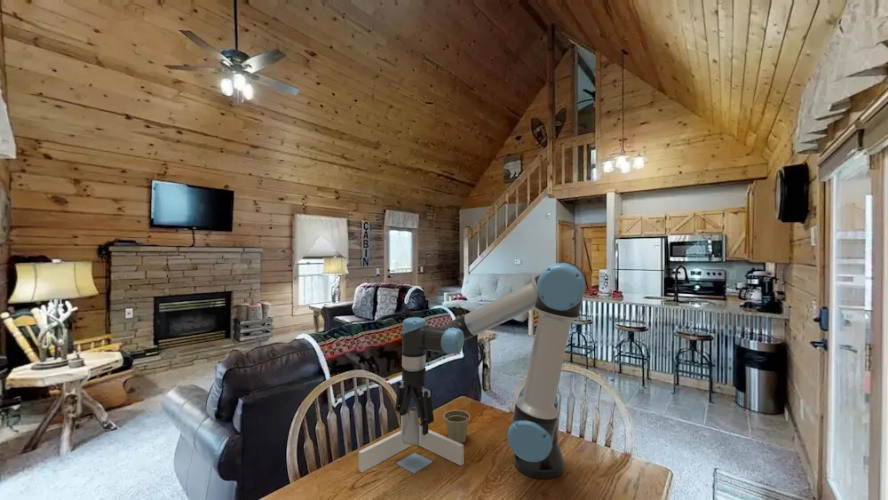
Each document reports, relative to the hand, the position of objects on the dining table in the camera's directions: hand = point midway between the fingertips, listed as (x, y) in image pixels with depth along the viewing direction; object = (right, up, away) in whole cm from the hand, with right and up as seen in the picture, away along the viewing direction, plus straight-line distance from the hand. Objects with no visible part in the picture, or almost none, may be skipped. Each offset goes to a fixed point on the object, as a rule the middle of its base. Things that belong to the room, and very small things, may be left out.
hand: (413, 439), depth 119 cm
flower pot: (+14, -8, +14) cm, 22 cm away
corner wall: (0, -8, -2) cm, 8 cm away
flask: (0, -1, 0) cm, 1 cm away
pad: (0, -8, 0) cm, 8 cm away
